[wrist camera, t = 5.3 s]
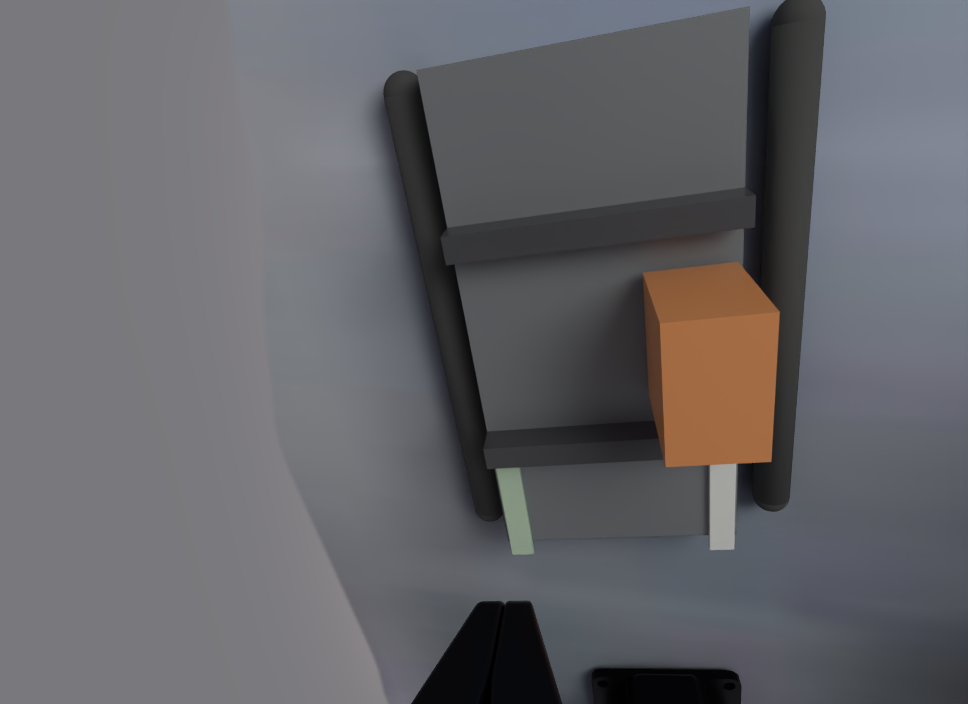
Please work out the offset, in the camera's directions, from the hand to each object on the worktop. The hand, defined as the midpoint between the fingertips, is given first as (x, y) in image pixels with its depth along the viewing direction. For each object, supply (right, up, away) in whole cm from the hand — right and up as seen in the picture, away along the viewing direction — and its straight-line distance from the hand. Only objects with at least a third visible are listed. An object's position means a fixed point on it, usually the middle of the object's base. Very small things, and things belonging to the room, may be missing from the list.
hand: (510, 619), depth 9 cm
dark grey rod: (-1, +5, +11) cm, 12 cm away
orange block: (+6, +5, +8) cm, 11 cm away
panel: (+3, +6, +10) cm, 12 cm away
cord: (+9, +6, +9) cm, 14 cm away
